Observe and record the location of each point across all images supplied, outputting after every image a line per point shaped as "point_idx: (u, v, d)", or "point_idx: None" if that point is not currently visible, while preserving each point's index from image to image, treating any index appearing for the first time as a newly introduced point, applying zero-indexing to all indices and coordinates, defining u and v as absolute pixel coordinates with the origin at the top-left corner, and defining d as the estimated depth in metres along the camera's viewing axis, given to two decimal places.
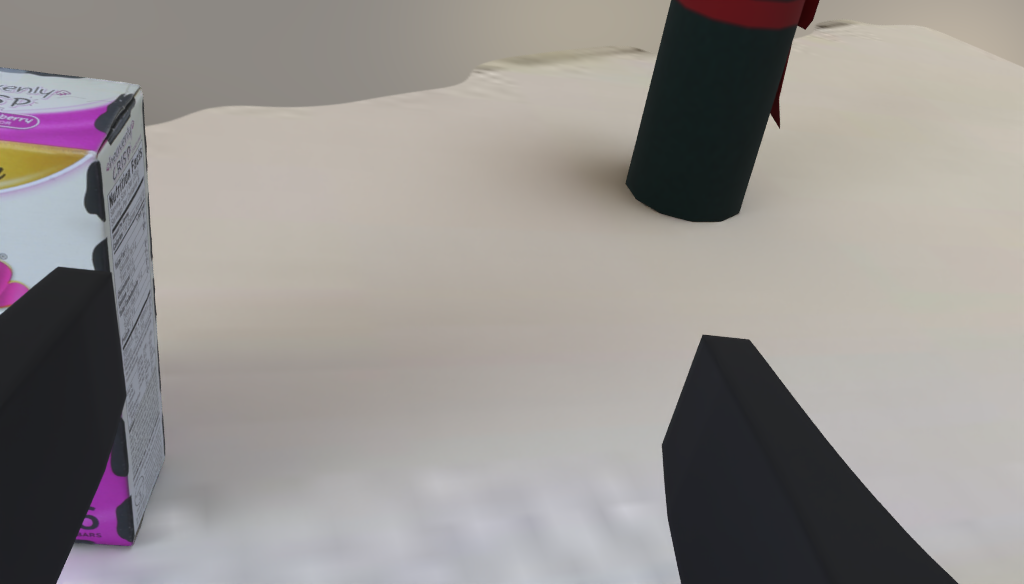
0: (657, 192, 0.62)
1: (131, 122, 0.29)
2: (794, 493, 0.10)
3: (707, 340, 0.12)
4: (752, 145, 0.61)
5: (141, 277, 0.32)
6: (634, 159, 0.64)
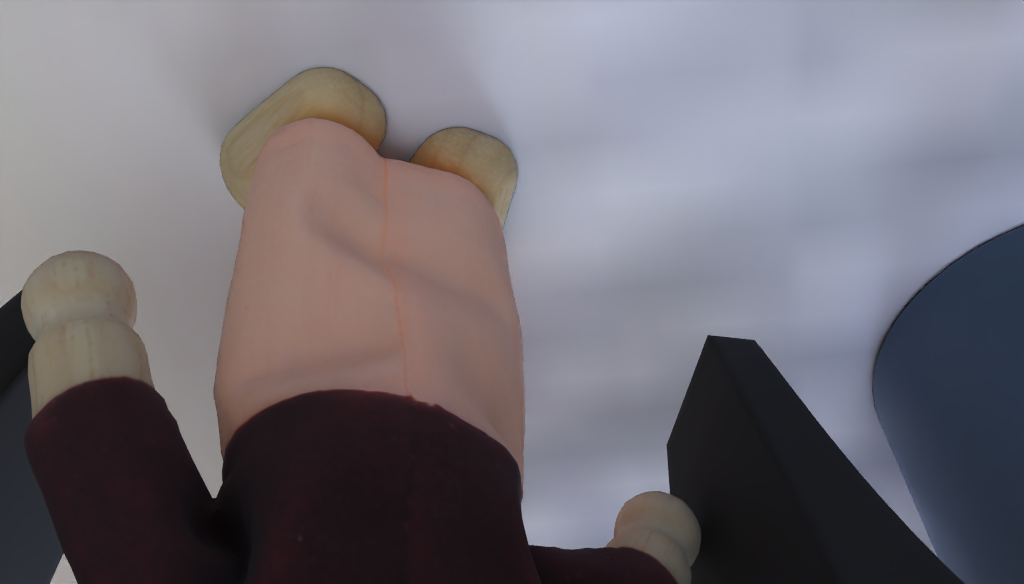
0: None
1: None
2: (801, 494, 0.10)
3: (713, 341, 0.12)
4: None
5: None
6: None
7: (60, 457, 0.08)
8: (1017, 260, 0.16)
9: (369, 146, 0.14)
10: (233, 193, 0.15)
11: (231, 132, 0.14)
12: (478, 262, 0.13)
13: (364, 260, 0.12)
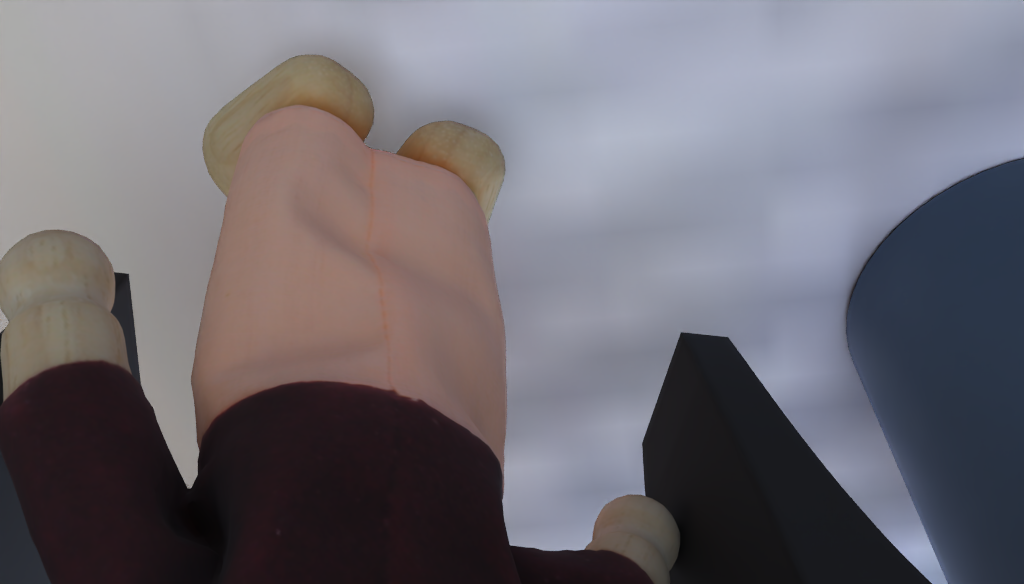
0: None
1: None
2: (767, 491, 0.09)
3: (685, 338, 0.12)
4: None
5: None
6: None
7: (32, 442, 0.08)
8: (977, 202, 0.17)
9: (356, 136, 0.13)
10: (215, 179, 0.14)
11: (215, 117, 0.14)
12: (463, 257, 0.13)
13: (349, 251, 0.11)
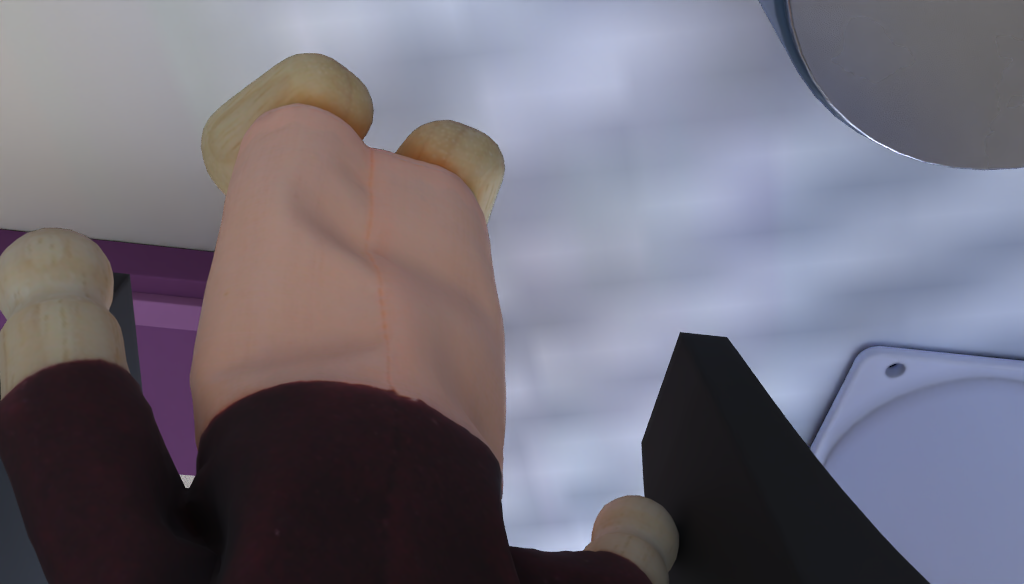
0: None
1: None
2: (766, 491, 0.09)
3: (683, 339, 0.12)
4: None
5: None
6: None
7: (31, 440, 0.08)
8: None
9: (356, 135, 0.13)
10: (214, 177, 0.14)
11: (214, 115, 0.14)
12: (463, 257, 0.13)
13: (348, 250, 0.11)
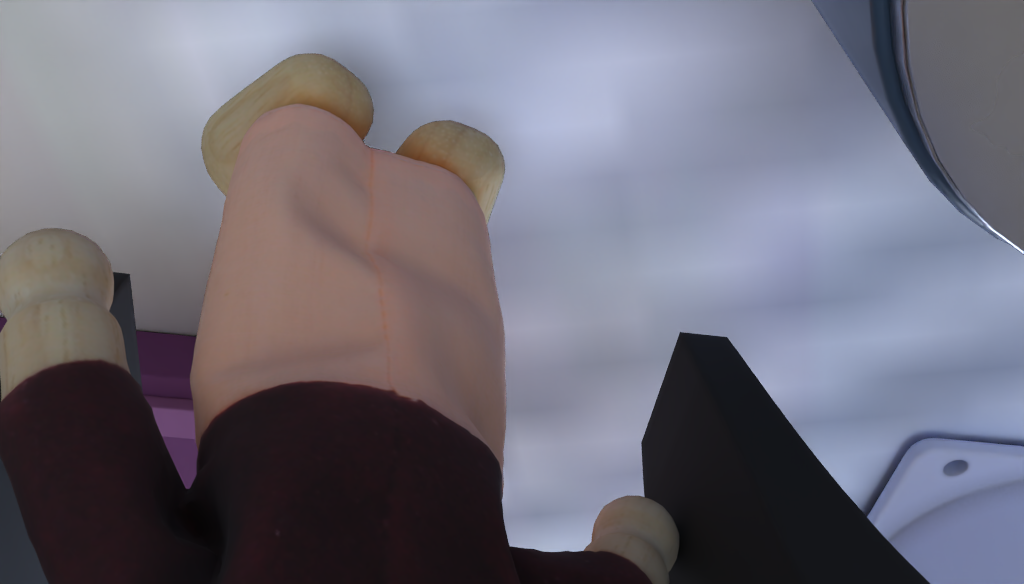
0: None
1: None
2: (766, 491, 0.09)
3: (684, 339, 0.12)
4: None
5: None
6: None
7: (29, 442, 0.08)
8: None
9: (356, 135, 0.13)
10: (214, 177, 0.14)
11: (214, 115, 0.14)
12: (463, 257, 0.13)
13: (348, 250, 0.11)
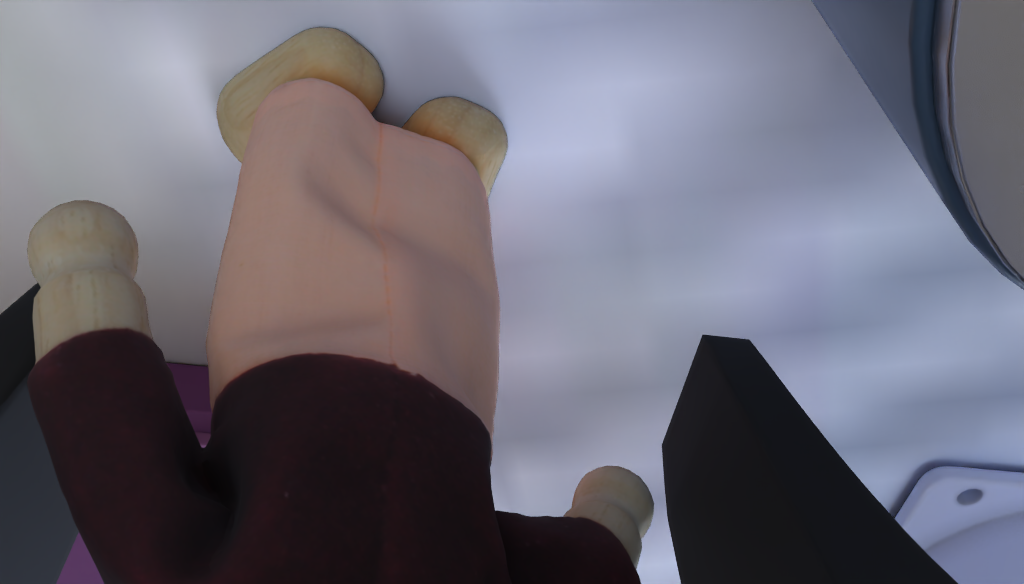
0: None
1: None
2: (794, 493, 0.10)
3: (707, 341, 0.12)
4: None
5: None
6: None
7: (63, 402, 0.08)
8: None
9: (366, 110, 0.14)
10: (228, 143, 0.15)
11: (230, 83, 0.15)
12: (464, 233, 0.13)
13: (356, 226, 0.12)
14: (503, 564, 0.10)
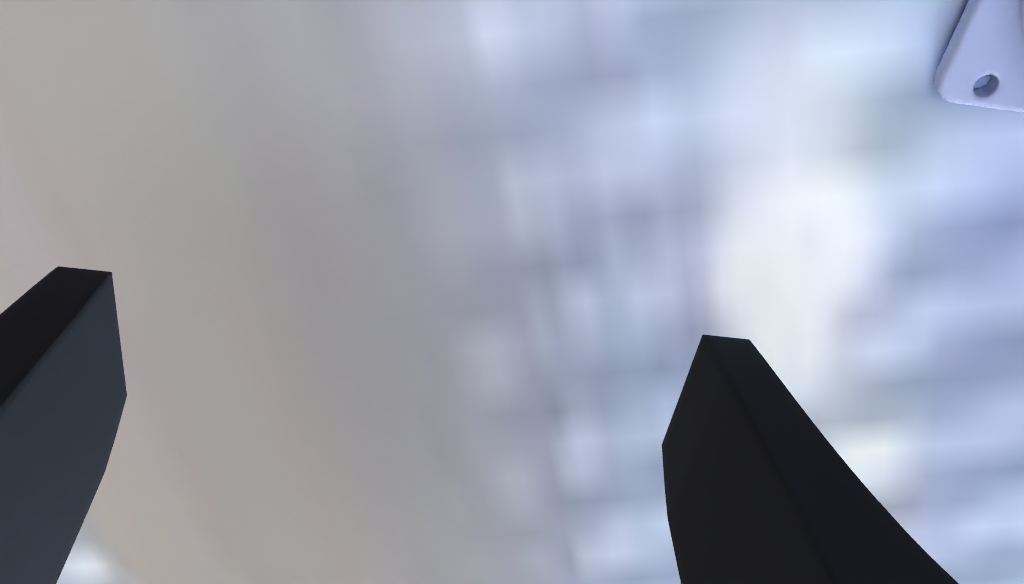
0: None
1: None
2: (794, 493, 0.10)
3: (707, 340, 0.12)
4: None
5: None
6: None
7: None
8: None
9: None
10: None
11: None
12: None
13: None
14: None
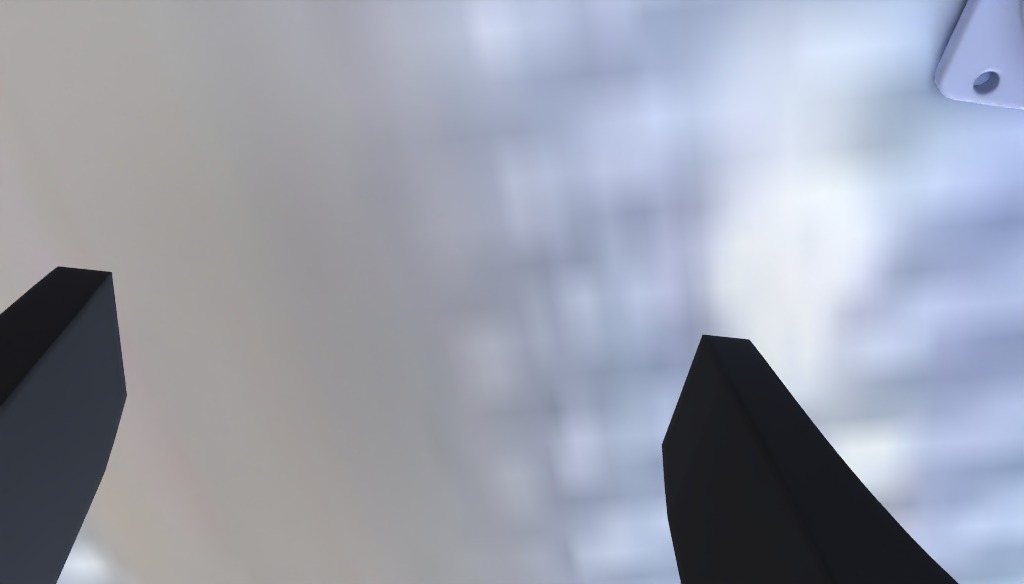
0: None
1: None
2: (794, 493, 0.10)
3: (707, 341, 0.12)
4: None
5: None
6: None
7: None
8: None
9: None
10: None
11: None
12: None
13: None
14: None
